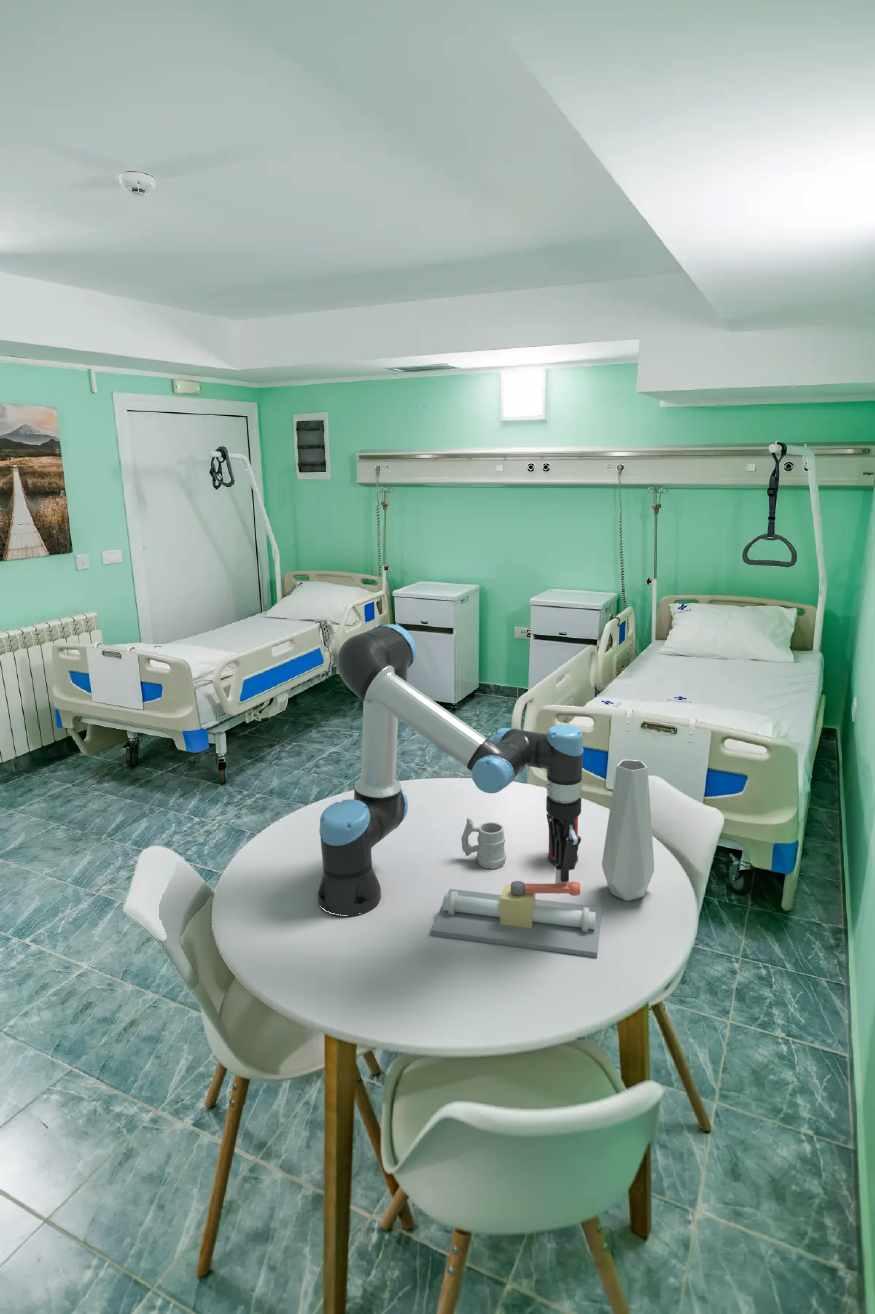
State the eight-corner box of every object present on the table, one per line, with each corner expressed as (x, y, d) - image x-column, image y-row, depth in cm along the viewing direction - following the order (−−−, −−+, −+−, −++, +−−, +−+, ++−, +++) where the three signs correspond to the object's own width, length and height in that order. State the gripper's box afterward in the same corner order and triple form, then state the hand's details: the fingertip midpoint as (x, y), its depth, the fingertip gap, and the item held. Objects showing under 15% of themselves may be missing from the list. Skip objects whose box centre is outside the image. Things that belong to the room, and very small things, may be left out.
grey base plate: (431, 934, 167) (430, 904, 165) (449, 893, 183) (449, 865, 181) (596, 957, 158) (597, 925, 156) (601, 911, 174) (602, 882, 172)
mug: (503, 871, 192) (503, 828, 189) (458, 866, 195) (457, 824, 192) (508, 856, 199) (508, 814, 196) (464, 851, 202) (464, 810, 199)
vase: (609, 874, 189) (613, 751, 181) (655, 885, 183) (662, 759, 175) (593, 898, 179) (596, 769, 171) (641, 911, 173) (647, 778, 165)
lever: (511, 896, 167) (511, 888, 166) (510, 888, 170) (510, 880, 170) (581, 896, 166) (581, 888, 166) (579, 888, 169) (579, 880, 169)
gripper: (536, 786, 169) (535, 879, 175) (560, 811, 157) (558, 910, 163) (567, 781, 170) (565, 873, 177) (593, 806, 159) (590, 904, 165)
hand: (561, 891), depth 170 cm, fingers closed
